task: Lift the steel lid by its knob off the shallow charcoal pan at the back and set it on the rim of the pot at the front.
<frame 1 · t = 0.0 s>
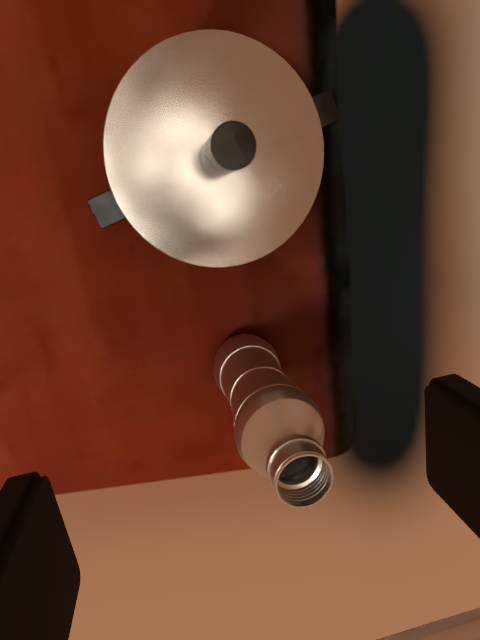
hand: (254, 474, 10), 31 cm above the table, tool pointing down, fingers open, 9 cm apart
pan: (209, 163, 38), on the table
plastic bottle: (241, 358, 43), on the table
lid: (217, 157, 32), point 5 cm above the table, touching pan
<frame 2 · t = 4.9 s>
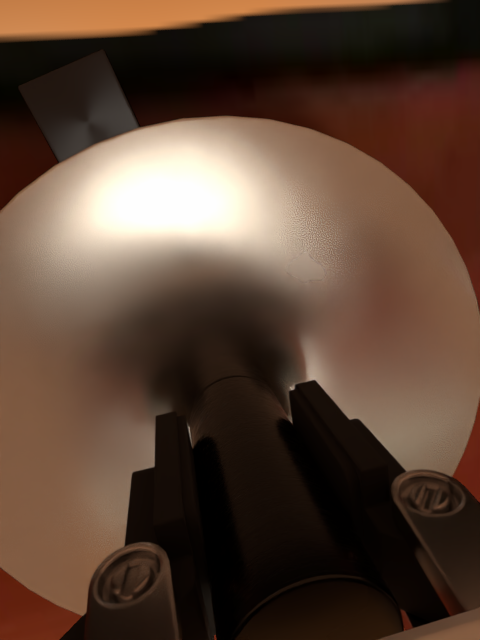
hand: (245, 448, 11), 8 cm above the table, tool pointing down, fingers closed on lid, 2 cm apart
pan: (212, 350, 19), on the table
lid: (232, 409, 13), point 5 cm above the table, touching gripper, pan
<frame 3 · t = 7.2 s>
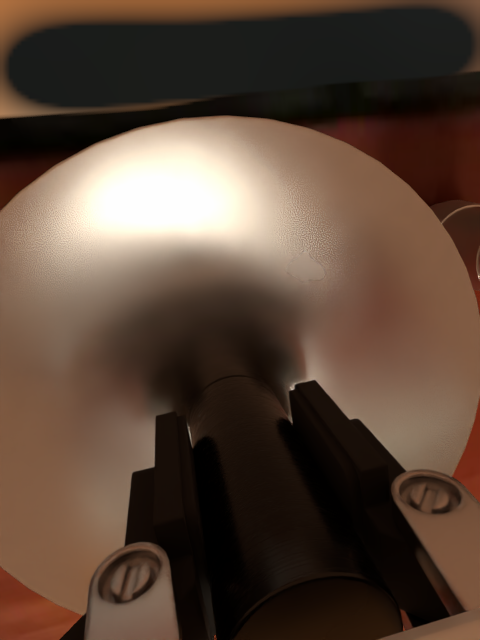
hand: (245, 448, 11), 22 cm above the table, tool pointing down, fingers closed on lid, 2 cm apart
plastic bottle: (428, 240, 34), on the table
lid: (232, 409, 13), point 20 cm above the table, touching gripper
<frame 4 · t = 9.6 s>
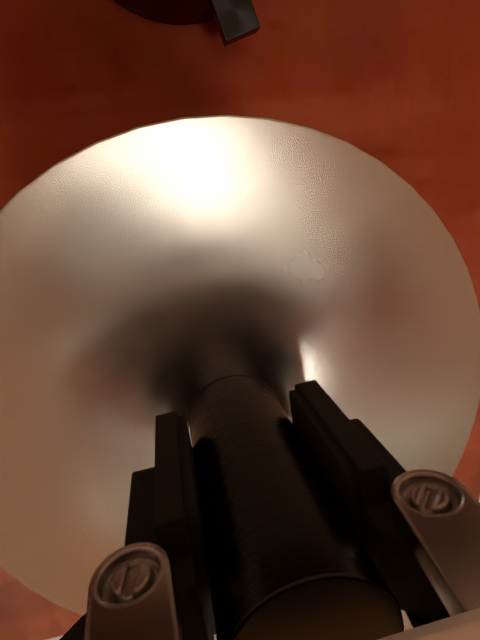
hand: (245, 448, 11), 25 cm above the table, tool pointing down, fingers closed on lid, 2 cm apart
lid: (232, 408, 13), point 23 cm above the table, touching gripper
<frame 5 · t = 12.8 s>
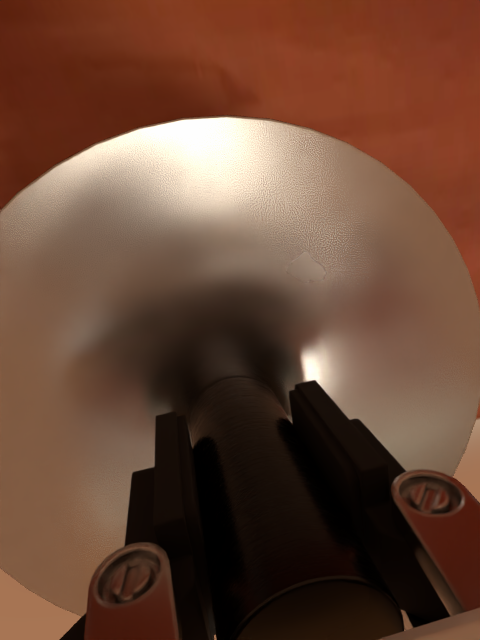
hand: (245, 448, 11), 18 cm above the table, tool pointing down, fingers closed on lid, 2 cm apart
lid: (232, 409, 13), point 16 cm above the table, touching gripper
when the fingers open (11 cm above the table, at t = 14.7 s): lid stays where it is, resting on pot.
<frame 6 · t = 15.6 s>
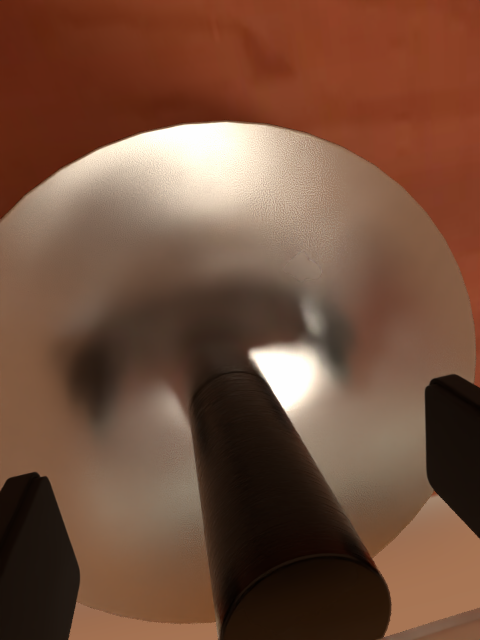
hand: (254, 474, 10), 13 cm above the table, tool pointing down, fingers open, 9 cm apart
lid: (231, 404, 14), point 9 cm above the table, touching pot
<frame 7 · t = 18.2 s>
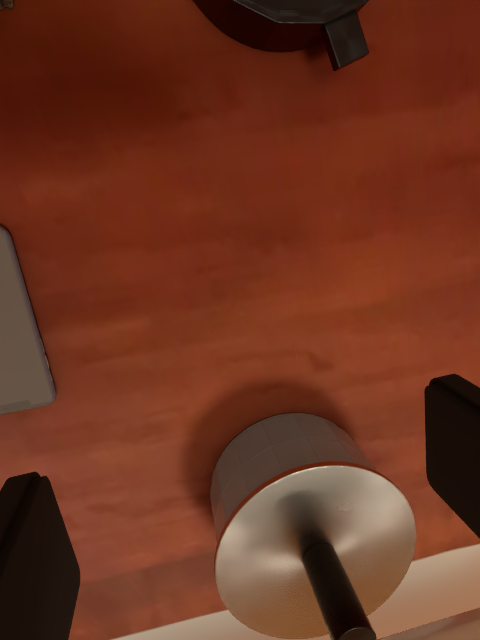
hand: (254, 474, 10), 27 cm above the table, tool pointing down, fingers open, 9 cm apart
pot: (287, 482, 43), on the table
lid: (316, 551, 34), point 9 cm above the table, touching pot
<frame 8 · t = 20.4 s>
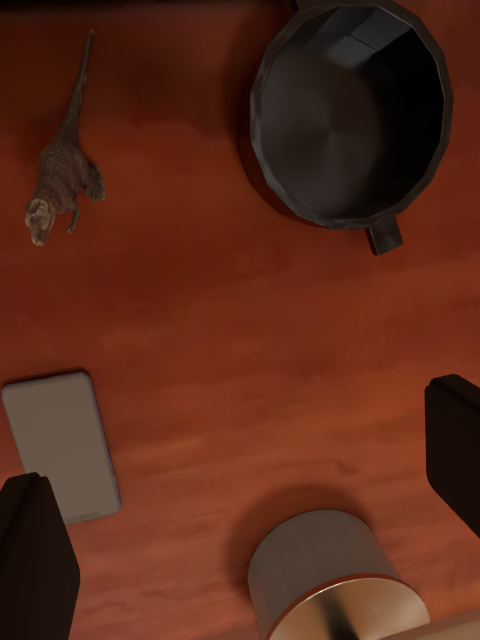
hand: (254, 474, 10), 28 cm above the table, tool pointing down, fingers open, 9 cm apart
smartphone: (66, 448, 39), on the table
pan: (326, 130, 36), on the table
pot: (313, 566, 49), on the table
dinosaur model: (80, 139, 33), on the table
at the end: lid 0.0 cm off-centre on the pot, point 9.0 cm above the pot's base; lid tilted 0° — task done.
